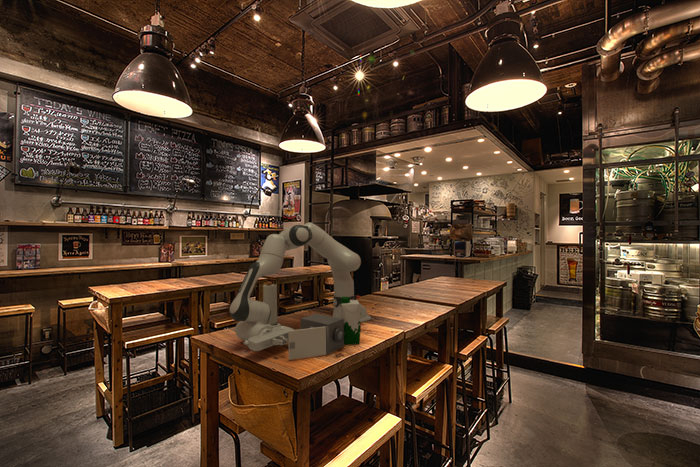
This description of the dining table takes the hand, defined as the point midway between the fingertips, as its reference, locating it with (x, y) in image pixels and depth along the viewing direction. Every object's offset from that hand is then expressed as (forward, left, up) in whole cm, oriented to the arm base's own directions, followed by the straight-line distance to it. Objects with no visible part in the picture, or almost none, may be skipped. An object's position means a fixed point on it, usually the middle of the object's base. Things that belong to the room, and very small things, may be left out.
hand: (284, 342), depth 124 cm
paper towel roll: (-10, -48, -6) cm, 49 cm away
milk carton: (-31, 0, -6) cm, 31 cm away
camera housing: (-18, -1, -6) cm, 19 cm away
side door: (-8, +6, -6) cm, 11 cm away
